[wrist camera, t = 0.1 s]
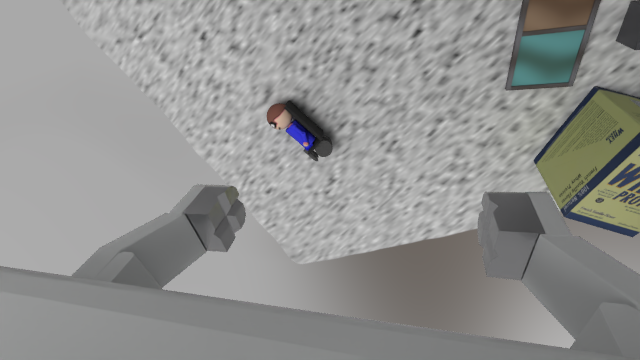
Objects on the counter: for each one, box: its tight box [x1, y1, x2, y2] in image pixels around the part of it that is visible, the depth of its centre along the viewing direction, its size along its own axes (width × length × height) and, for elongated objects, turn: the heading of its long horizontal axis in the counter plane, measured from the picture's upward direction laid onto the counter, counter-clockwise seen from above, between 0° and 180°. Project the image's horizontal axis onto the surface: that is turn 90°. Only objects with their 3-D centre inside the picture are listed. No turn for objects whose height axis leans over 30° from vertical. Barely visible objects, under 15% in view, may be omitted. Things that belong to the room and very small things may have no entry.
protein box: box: [534, 86, 640, 237], centre depth 46 cm, size 10×16×16 cm
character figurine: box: [267, 101, 332, 161], centre depth 61 cm, size 8×7×15 cm
